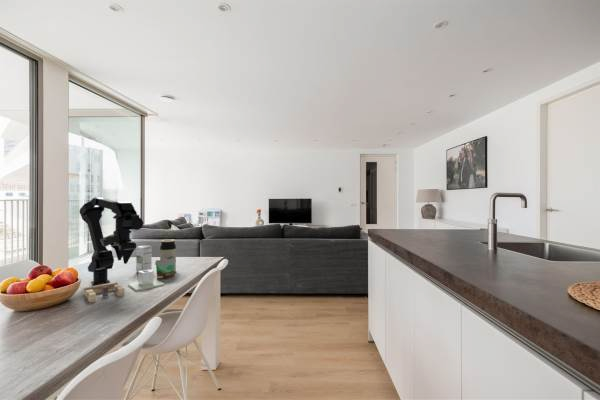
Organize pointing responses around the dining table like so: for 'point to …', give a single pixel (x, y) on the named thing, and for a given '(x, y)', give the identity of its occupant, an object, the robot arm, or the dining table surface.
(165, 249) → the travel mug
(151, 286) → the board
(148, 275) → the steel collar
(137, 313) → the dining table surface
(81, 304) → the dining table surface
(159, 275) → the food container
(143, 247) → the syrup box
